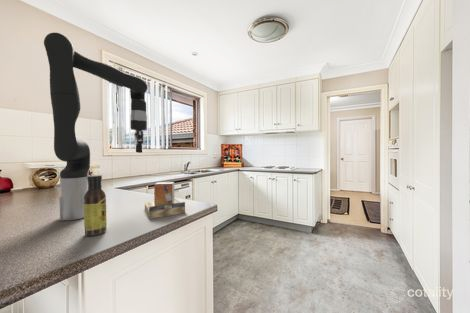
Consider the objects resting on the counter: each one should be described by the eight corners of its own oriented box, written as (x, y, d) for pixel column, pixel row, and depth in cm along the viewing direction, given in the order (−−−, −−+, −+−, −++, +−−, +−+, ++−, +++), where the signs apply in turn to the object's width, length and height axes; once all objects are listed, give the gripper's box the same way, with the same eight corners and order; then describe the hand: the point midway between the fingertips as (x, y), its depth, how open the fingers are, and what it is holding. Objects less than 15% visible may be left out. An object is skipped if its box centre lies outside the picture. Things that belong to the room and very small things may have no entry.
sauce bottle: (106, 234, 68) (105, 175, 67) (83, 238, 65) (82, 177, 64) (106, 228, 73) (105, 174, 73) (85, 231, 70) (83, 175, 69)
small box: (154, 207, 89) (153, 184, 89) (157, 204, 95) (157, 182, 94) (172, 206, 90) (172, 183, 90) (174, 203, 96) (174, 181, 95)
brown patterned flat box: (149, 218, 83) (149, 207, 83) (144, 209, 97) (144, 199, 97) (185, 212, 91) (185, 202, 91) (176, 204, 105) (175, 195, 105)
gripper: (129, 121, 105) (129, 152, 106) (131, 117, 93) (131, 152, 93) (145, 122, 109) (145, 152, 110) (148, 119, 97) (148, 152, 97)
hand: (138, 152), depth 101 cm, fingers open, 8 cm apart
